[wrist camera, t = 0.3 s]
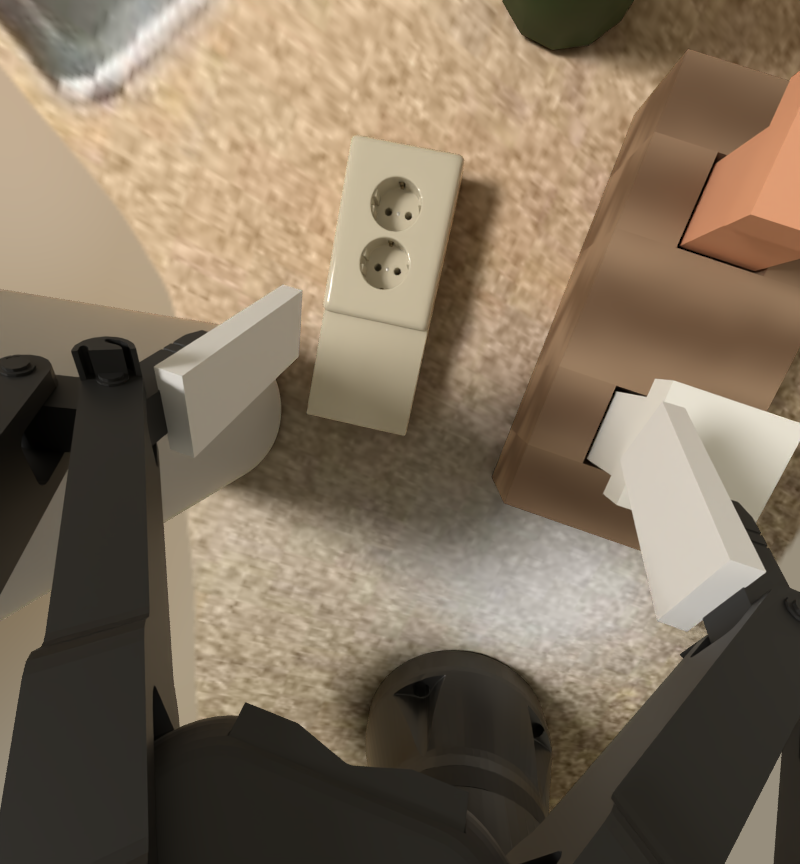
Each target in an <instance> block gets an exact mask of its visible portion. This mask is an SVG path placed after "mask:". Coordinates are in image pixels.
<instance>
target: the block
mask: <svg viewBox="0 0 800 864" xmlns="http://www.w3.org/2000/svg"><path fill="white" fill-rule="evenodd" d="M788 84H789V81H788V80H785V79H782V78H779V77H776V76H772V75H769V74H766V73H763V72H760V71H757V70H754V69H750V68H747V67H744V66H741V65H738V64H735V63H732V62H728V61H725V60H722V59H719V58H716V57H713V56H710V55H706V54H703V53H700V52H697V51H694V50H691V49H688V50H687V51H686V52H685V53H684V54H683V56H682V57H681V58H680V59H679V61H678V62H677V63H676V64H675V66H674V67H673V68H672V69H671V70H670V72H669V73H668V74H667V75H666V77H665V78H664V79H663V80H662V81H661V83H660V84H659V85H658V86H657V88H656V89H655V90H654V91H653V93H652V94H651V95H650V96H649V97H648V99H647V100H646V101H645V102H644V104H643V105H642V106H641V107H640V108H639V110H638V111H637V112H636V113H635V115H634V117H633V120H632V122H631V125H630V127H629V130H628V132H627V135H626V137H625V140H624V143H623V145H622V148H621V150H620V153H619V155H618V158H617V160H616V163H615V165H614V168H613V171H612V173H611V176H610V178H609V181H608V183H607V186H606V188H605V191H604V193H603V196H602V198H601V201H600V204H599V206H598V209H597V211H596V214H595V216H594V219H593V221H592V224H591V226H590V229H589V231H588V234H587V237H586V239H585V242H584V244H583V247H582V249H581V252H580V254H579V257H578V259H577V262H576V264H575V267H574V270H573V272H572V275H571V277H570V280H569V282H568V285H567V287H566V290H565V292H564V295H563V297H562V300H561V303H560V305H559V308H558V310H557V313H556V315H555V318H554V320H553V323H552V325H551V328H550V330H549V333H548V336H547V338H546V341H545V343H544V346H543V348H542V351H541V353H540V356H539V358H538V361H537V363H536V366H535V369H534V371H533V374H532V376H531V379H530V381H529V384H528V386H527V389H526V391H525V394H524V396H523V399H522V402H521V404H520V407H519V409H518V412H517V414H516V417H515V419H514V422H513V424H512V427H511V429H510V432H509V435H508V437H507V440H506V442H505V445H504V447H503V450H502V452H501V455H500V457H499V460H498V463H497V465H496V468H495V470H494V473H493V475H492V478H493V481H494V483H495V485H496V487H497V489H498V491H499V493H500V496H501V498H502V500H503V502H504V503H505V504H508V505H511V506H514V507H516V508H519V509H522V510H525V511H528V512H531V513H534V514H536V515H539V516H542V517H545V518H548V519H551V520H554V521H557V522H559V523H562V524H565V525H568V526H571V527H574V528H577V529H580V530H582V531H585V532H588V533H591V534H594V535H597V536H600V537H603V538H605V539H608V540H611V541H614V542H617V543H620V544H623V545H625V546H628V547H631V548H634V549H637V550H640V551H641V549H640V544H639V540H638V536H637V531H636V527H635V522H634V518H633V514H632V510H630V509H627V508H624V507H621V506H618V505H616V504H615V503H614V502H612V501H611V500H610V499H609V498H607V497H606V496H605V495H604V494H603V493H604V490H605V488H606V486H607V484H608V482H609V479H610V477H611V475H610V474H609V473H607V472H606V471H604V470H603V469H601V468H600V467H598V466H597V465H595V464H594V463H592V462H591V461H589V460H588V459H586V458H587V456H588V455H586V454H587V452H588V450H589V447H590V445H591V443H592V440H593V438H594V436H595V433H596V431H597V429H598V427H599V424H600V422H601V420H602V417H603V415H604V413H605V410H606V408H607V406H608V404H609V401H610V399H611V397H612V394H613V392H614V391H615V392H616V391H617V392H622V393H628V394H633V395H638V396H644V397H647V395H648V393H649V391H650V389H651V387H652V384H653V382H654V380H655V379H664V380H674V381H677V382H680V383H683V384H686V385H689V386H692V387H695V388H698V389H701V390H704V391H707V392H710V393H713V394H715V395H718V396H721V397H724V398H727V399H730V400H733V401H736V402H739V403H742V404H745V405H748V406H751V407H754V408H757V409H760V410H763V411H766V412H767V410H768V408H769V406H770V404H771V403H772V401H773V399H774V397H775V395H776V393H777V391H778V389H779V387H780V385H781V383H782V381H783V379H784V377H785V375H786V373H787V371H788V369H789V367H790V365H791V363H792V362H793V360H794V358H795V356H796V354H797V352H798V350H799V348H800V259H797V260H793V261H790V262H786V263H782V264H779V265H775V266H772V267H768V268H764V269H761V270H757V271H753V270H750V269H746V268H743V267H740V266H737V265H734V264H731V263H728V262H725V261H722V260H719V259H716V258H713V260H712V259H709V258H706V257H703V256H700V255H697V254H694V253H691V252H688V251H685V250H682V249H679V248H676V247H677V245H678V243H679V241H680V238H681V236H682V234H683V231H684V229H685V227H686V225H687V222H688V220H689V218H690V215H691V213H692V211H693V208H694V206H695V207H696V206H697V204H698V201H699V199H700V197H701V195H702V192H703V190H704V188H705V185H706V183H707V181H708V178H709V176H710V174H711V172H712V169H713V167H714V165H715V164H716V163H717V162H718V161H720V160H721V159H723V158H724V157H726V156H727V155H729V154H730V153H731V152H733V151H734V150H736V149H737V148H739V147H740V146H741V145H743V144H744V143H746V142H747V141H749V140H750V139H751V138H753V137H754V136H756V135H757V134H759V133H760V132H762V131H763V130H764V129H766V128H767V127H769V126H770V123H771V121H772V119H773V117H774V115H775V112H776V110H777V108H778V106H779V104H780V101H781V99H782V97H783V95H784V92H785V90H786V88H787V86H788Z"/></svg>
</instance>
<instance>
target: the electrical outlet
mask: <svg viewBox="0 0 800 864" xmlns="http://www.w3.org/2000/svg"><path fill="white" fill-rule="evenodd" d="M463 167H464V158H463V157H462V156H461V155H459V154H454V153H448V152H443V151H438V150H433V149H428V148H423V147H417V146H412V145H407V144H402V143H397V142H392V141H386V140H381V139H376V138H371V137H366V136H361V135H355V136H353V137H352V139H351V145H350V150H349V156H348V162H347V168H346V174H345V180H344V185H343V191H342V197H341V203H340V209H339V215H338V220H337V226H336V232H335V238H334V244H333V250H332V255H331V261H330V267H329V273H328V279H327V285H326V290H325V296H324V302H323V307H324V314H323V320H322V326H321V332H320V337H319V343H318V349H317V355H316V361H315V366H314V372H313V378H312V384H311V390H310V395H309V401H308V407H307V413H306V414H309V415H313V416H318V417H322V418H327V419H331V420H335V421H340V422H344V423H349V424H353V425H358V426H362V427H367V428H371V429H375V430H380V431H384V432H389V433H393V434H398V435H402V436H405V434H406V431H407V428H408V424H409V419H410V415H411V410H412V406H413V401H414V396H415V392H416V387H417V383H418V378H419V374H420V369H421V365H422V360H423V355H424V351H425V346H426V342H427V337H428V333H429V328H430V323H431V319H432V314H433V310H434V305H435V301H436V296H437V292H438V287H439V282H440V278H441V273H442V269H443V264H444V260H445V255H446V250H447V246H448V241H449V237H450V232H451V228H452V223H453V219H454V214H455V209H456V205H457V200H458V196H459V191H460V187H461V181H462V174H463ZM379 270H380V271H379ZM399 273H400V275H397V274H399Z"/></svg>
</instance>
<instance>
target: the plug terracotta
mask: <svg viewBox="0 0 800 864" xmlns="http://www.w3.org/2000/svg"><path fill="white" fill-rule="evenodd" d="M679 246H680V247H683V248H686V249H689V250H692V251H695V252H698V253H701V254H704V255H707V256H710V257H713V258H716V259H719V260H722V261H725V262H728V263H731V264H734V265H737V266H740V267H743V268H746V269H750V270H753V271H757V270H761V269H764V268H768V267H772V266H775V265H779V264H782V263H786V262H790V261H793V260H797V259H800V71H799V72H798V73H796V74H795V75H794V76H793V77H791V79H790V81H789V84H788V86H787V88H786V90H785V92H784V95H783V97H782V99H781V101H780V104H779V106H778V108H777V110H776V112H775V115H774V117H773V119H772V121H771V123H770V126H769V127H767V128H766V129H764V130H763V131H762V132H760V133H759V134H757V135H756V136H754V137H753V138H751V139H750V140H749V141H747V142H746V143H744V144H743V145H741V146H740V147H739V148H737V149H736V150H734V151H733V152H731V153H730V154H729V155H727V156H726V157H724V158H723V159H721V160H720V161H718V162H717V163H716V164H715V165H714V167H713V169H712V172H711V174H710V176H709V178H708V181H707V183H706V185H705V188H704V190H703V192H702V195H701V197H700V199H699V201H698V204H697V206H696V208H695V211H694V213H693V215H692V217H691V220H690V222H689V224H688V227H687V229H686V231H685V233H684V236H683V238H682V240H681V243H680V245H679Z"/></svg>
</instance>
